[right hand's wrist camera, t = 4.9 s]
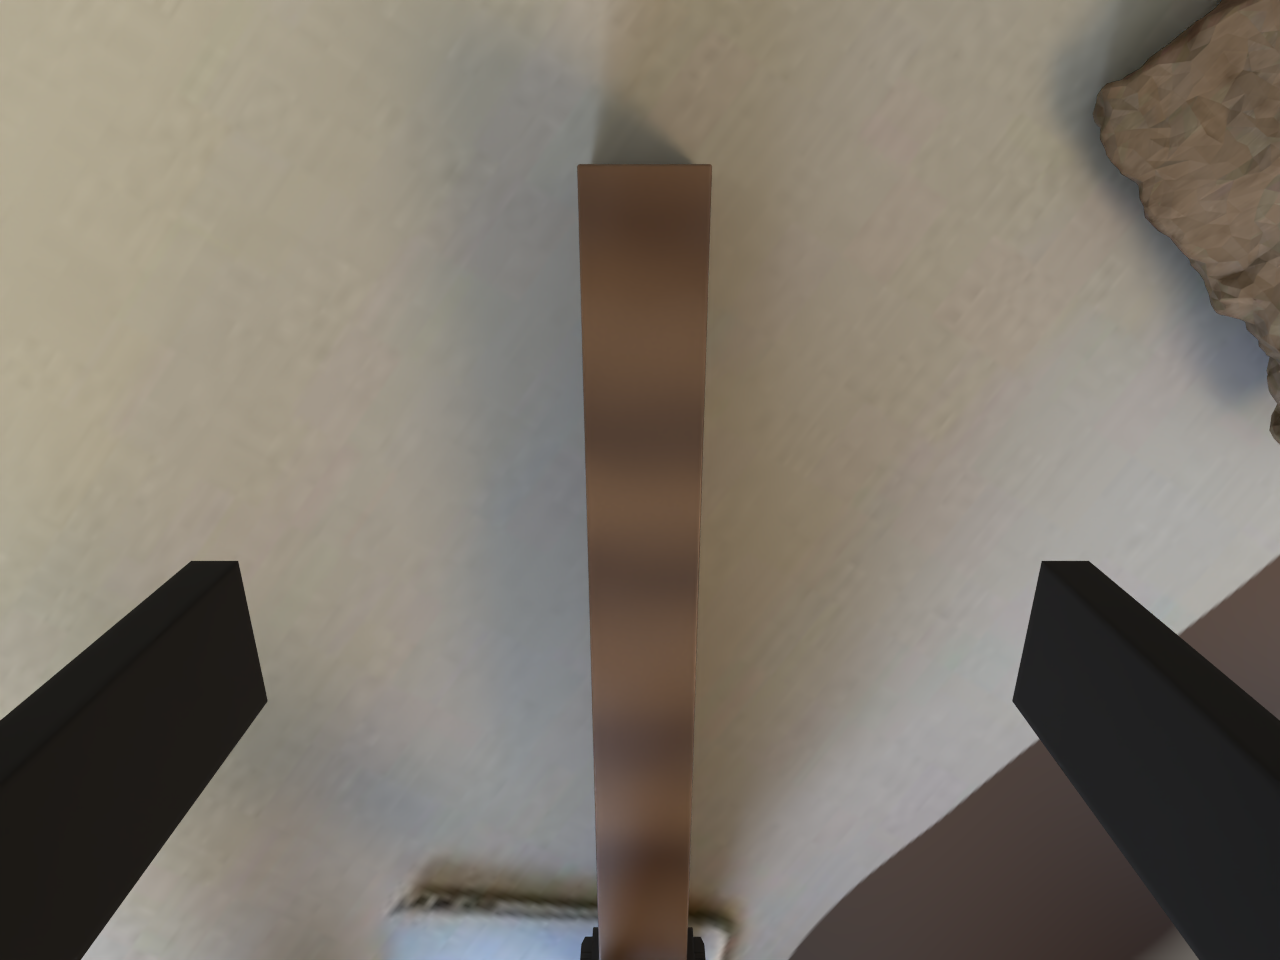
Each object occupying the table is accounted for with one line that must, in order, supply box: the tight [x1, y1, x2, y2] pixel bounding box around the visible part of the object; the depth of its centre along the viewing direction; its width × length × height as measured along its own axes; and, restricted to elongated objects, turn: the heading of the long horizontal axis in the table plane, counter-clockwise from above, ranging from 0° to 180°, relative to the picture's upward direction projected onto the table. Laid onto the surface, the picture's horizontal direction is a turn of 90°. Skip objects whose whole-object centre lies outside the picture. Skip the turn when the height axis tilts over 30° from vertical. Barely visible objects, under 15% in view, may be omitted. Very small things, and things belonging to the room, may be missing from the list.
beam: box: [577, 164, 712, 960], centre depth 41 cm, size 53×5×7 cm, turn 0°
